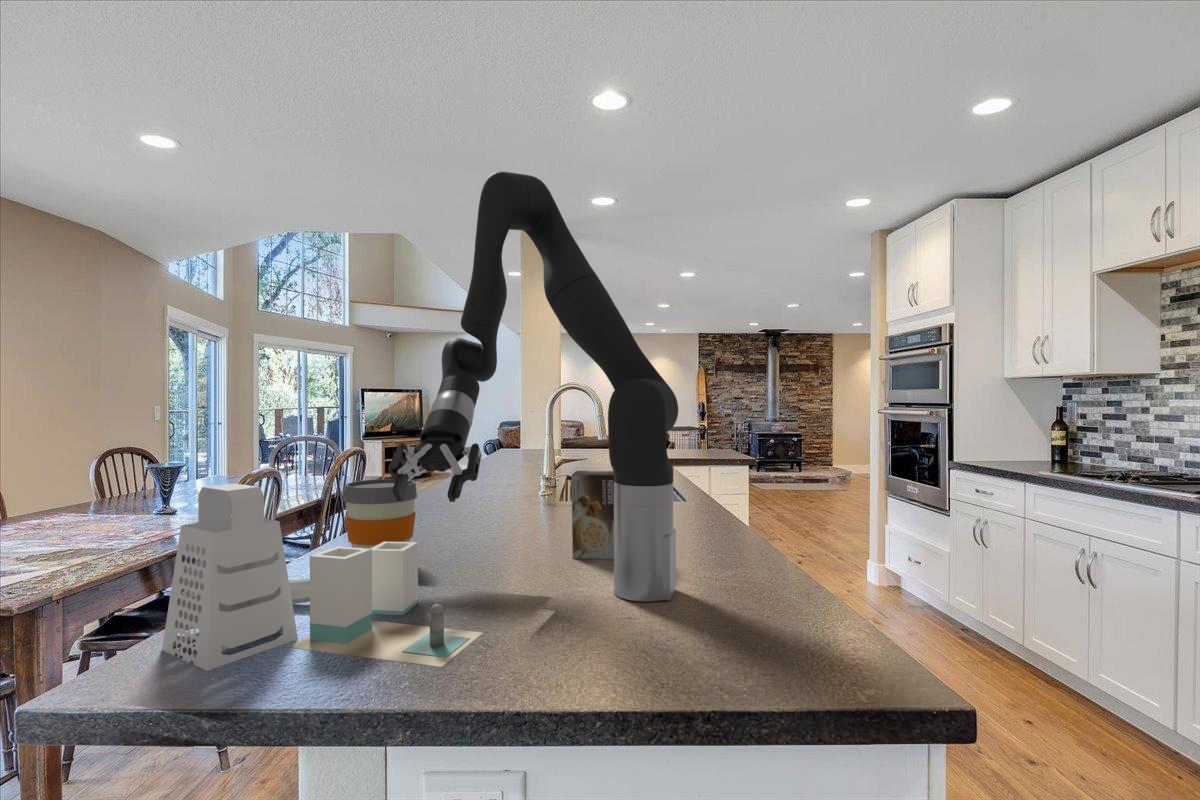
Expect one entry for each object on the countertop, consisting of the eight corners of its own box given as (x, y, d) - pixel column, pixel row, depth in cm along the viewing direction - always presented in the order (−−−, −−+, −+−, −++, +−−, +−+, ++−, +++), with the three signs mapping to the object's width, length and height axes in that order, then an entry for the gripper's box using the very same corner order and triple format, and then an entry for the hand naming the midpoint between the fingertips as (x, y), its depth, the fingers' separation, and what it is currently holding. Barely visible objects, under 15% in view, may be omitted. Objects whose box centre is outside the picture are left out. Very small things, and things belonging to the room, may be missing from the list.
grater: (206, 685, 65) (205, 496, 65) (159, 663, 71) (159, 489, 71) (299, 651, 74) (299, 484, 74) (251, 633, 80) (251, 478, 80)
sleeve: (418, 613, 87) (417, 542, 87) (403, 626, 82) (403, 551, 82) (384, 611, 88) (383, 541, 88) (367, 624, 83) (367, 550, 83)
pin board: (483, 644, 76) (483, 593, 76) (441, 680, 66) (441, 622, 66) (344, 628, 81) (344, 581, 81) (287, 659, 72) (287, 605, 72)
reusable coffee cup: (404, 575, 106) (404, 488, 106) (331, 575, 106) (330, 488, 106) (425, 557, 118) (425, 478, 118) (360, 556, 119) (360, 478, 118)
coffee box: (623, 552, 122) (623, 470, 122) (618, 560, 116) (618, 474, 115) (577, 550, 123) (577, 469, 123) (570, 558, 117) (570, 473, 117)
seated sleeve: (372, 628, 77) (371, 548, 77) (345, 644, 73) (345, 558, 73) (338, 625, 79) (337, 546, 79) (309, 639, 74) (309, 556, 74)
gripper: (403, 407, 106) (372, 483, 95) (484, 407, 105) (463, 484, 93) (415, 436, 111) (387, 511, 100) (493, 436, 110) (474, 513, 99)
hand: (424, 498), depth 97 cm, fingers open, 8 cm apart
